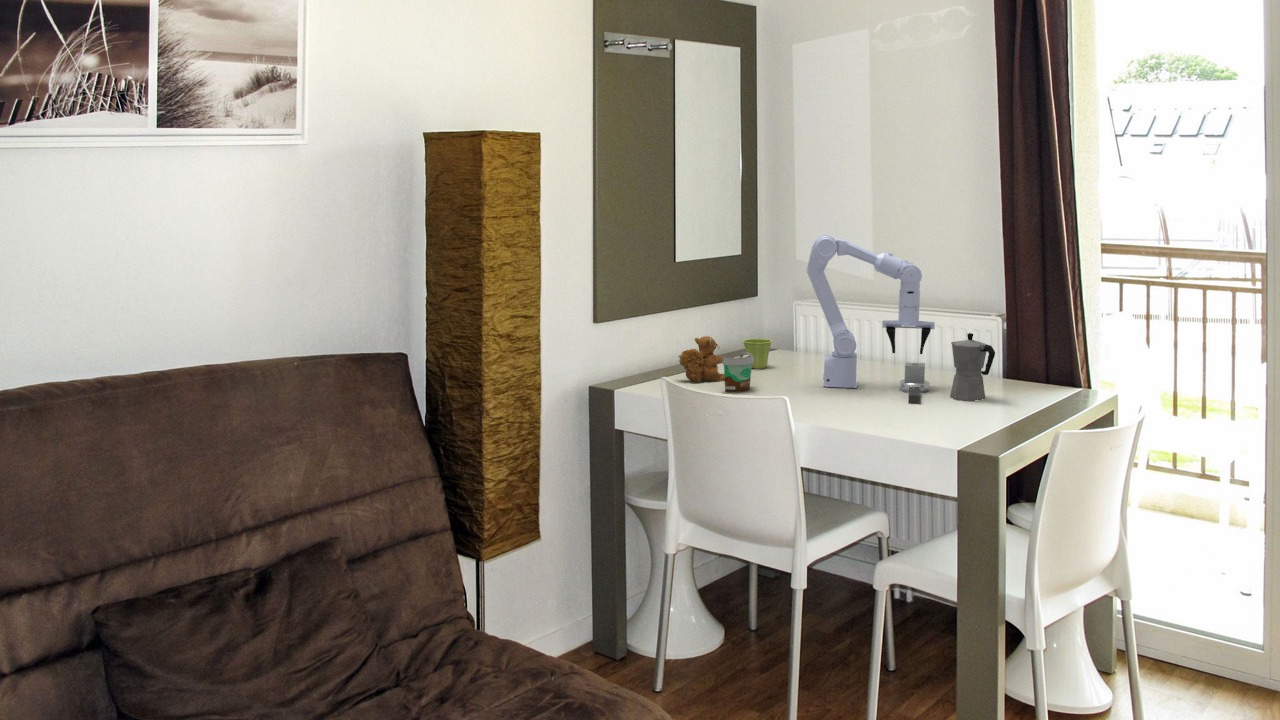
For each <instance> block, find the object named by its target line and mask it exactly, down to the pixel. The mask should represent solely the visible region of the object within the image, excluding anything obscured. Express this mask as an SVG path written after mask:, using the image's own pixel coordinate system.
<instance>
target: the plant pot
mask: <svg viewBox="0 0 1280 720" xmlns="http://www.w3.org/2000/svg"><path fill="white" fill-rule="evenodd" d="M742 343H743V347H744V349H745V352H746V353H750V354H752V356H753V359H754V363H752V367H751V369H756V370H757V369H765V368H768V360H769V355H770V348H771V344H772V343H773V340H771V339H767V338H747V339H743V340H742Z"/></svg>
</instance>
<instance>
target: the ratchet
mask: <svg viewBox="0 0 1280 720" xmlns="http://www.w3.org/2000/svg"><path fill="white" fill-rule="evenodd" d="M929 387H930V381H928V380H926V379H924V384H914V383H905V378H904V379H900V380H899V391H900V392H904V393H908V401H907V402H908V404H917V405H918V404H919V405H920V394H922V393H923V394H924V393H928V392H929V391H930V389H929Z"/></svg>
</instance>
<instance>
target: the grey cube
mask: <svg viewBox="0 0 1280 720" xmlns="http://www.w3.org/2000/svg"><path fill="white" fill-rule="evenodd" d="M925 367H926V363H925V362H905V363H904V379H905V383H914V384H924V380H925V373H926V372H925V371H926V368H925Z"/></svg>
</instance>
